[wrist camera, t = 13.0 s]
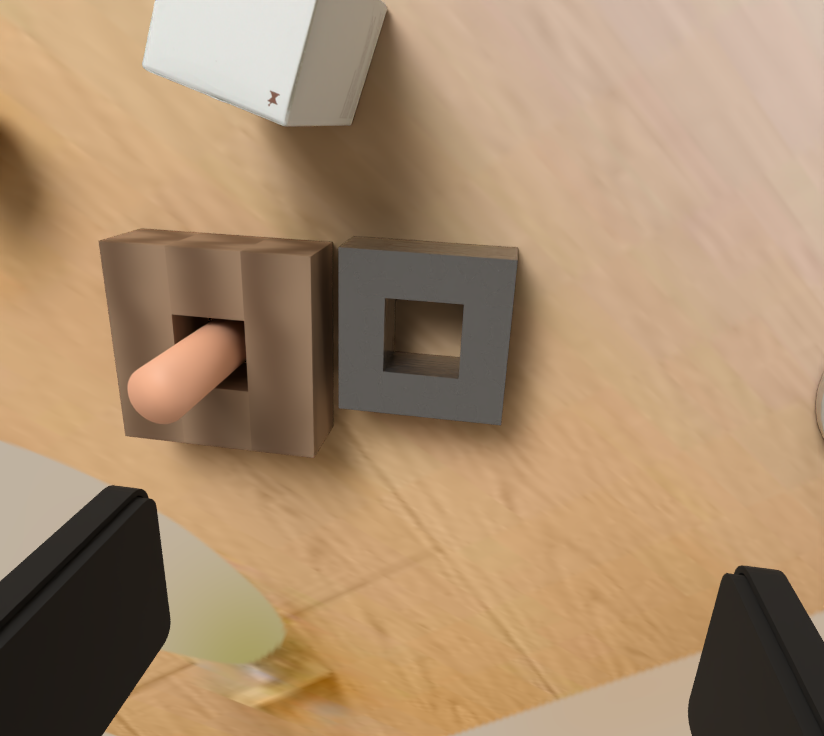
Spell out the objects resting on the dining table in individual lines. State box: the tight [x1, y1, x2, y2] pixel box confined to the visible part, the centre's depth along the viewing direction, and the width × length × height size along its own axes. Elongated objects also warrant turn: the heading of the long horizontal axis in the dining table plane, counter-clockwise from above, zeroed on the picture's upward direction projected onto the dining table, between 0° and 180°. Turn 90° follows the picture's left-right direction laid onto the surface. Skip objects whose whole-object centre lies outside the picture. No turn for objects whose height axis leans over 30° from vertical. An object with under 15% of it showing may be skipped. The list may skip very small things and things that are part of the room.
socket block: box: [99, 229, 333, 458], centre depth 45 cm, size 14×14×5 cm
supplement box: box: [142, 0, 387, 126], centre depth 34 cm, size 7×7×13 cm
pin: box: [127, 318, 246, 424], centre depth 42 cm, size 4×4×12 cm
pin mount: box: [339, 236, 518, 425], centre depth 43 cm, size 11×11×4 cm
